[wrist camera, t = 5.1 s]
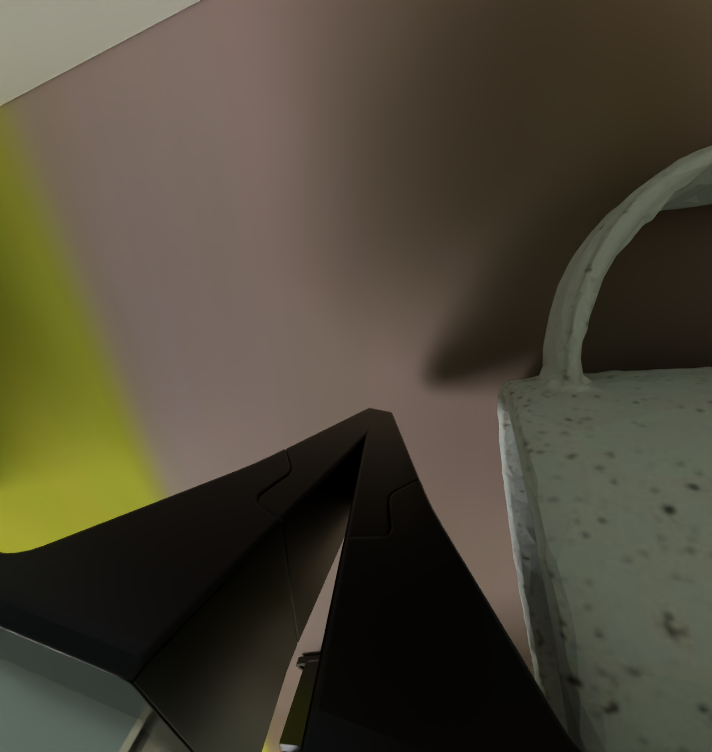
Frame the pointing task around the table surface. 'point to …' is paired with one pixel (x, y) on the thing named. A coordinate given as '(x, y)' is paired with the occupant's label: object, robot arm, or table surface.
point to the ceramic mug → (615, 513)
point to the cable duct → (67, 35)
